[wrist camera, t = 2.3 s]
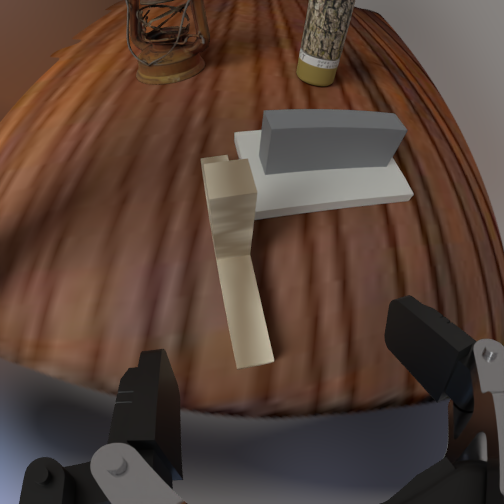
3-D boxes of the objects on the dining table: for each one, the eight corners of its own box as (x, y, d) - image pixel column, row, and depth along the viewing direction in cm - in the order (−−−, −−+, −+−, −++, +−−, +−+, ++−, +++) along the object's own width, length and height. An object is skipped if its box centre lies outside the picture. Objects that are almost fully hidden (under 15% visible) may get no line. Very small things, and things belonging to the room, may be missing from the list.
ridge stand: (254, 219, 29) (261, 166, 22) (234, 141, 34) (235, 89, 27) (408, 200, 32) (439, 160, 25) (370, 135, 37) (388, 93, 30)
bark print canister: (335, 77, 44) (365, -37, 22) (329, 92, 42) (362, -38, 19) (301, 66, 45) (322, -49, 23) (290, 80, 42) (313, -50, 20)
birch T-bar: (237, 369, 23) (238, 360, 13) (202, 170, 32) (194, 91, 22) (271, 362, 24) (298, 347, 14) (227, 166, 33) (227, 88, 23)
